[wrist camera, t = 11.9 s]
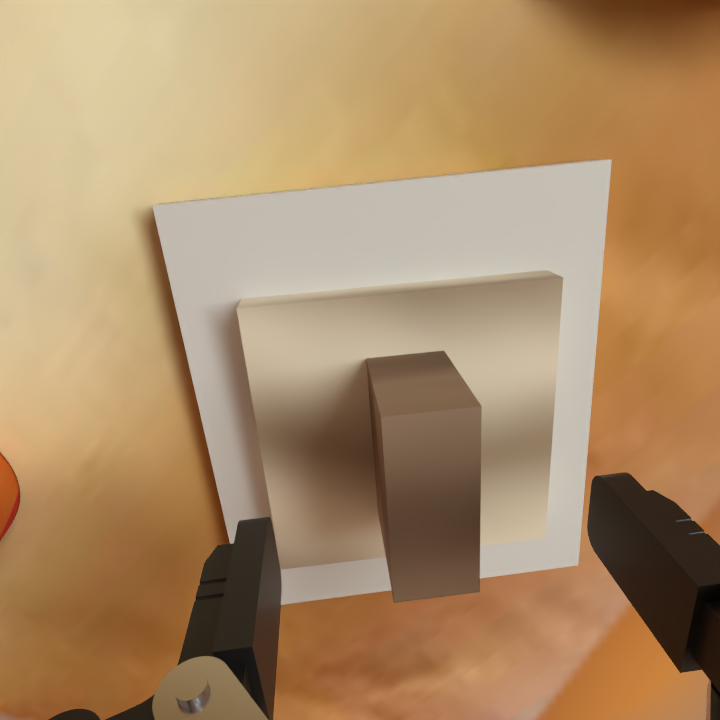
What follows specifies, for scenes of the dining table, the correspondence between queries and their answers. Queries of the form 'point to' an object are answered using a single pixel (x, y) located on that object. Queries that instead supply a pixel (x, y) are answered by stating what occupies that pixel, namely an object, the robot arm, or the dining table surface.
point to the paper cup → (7, 495)
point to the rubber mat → (376, 268)
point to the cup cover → (406, 422)
